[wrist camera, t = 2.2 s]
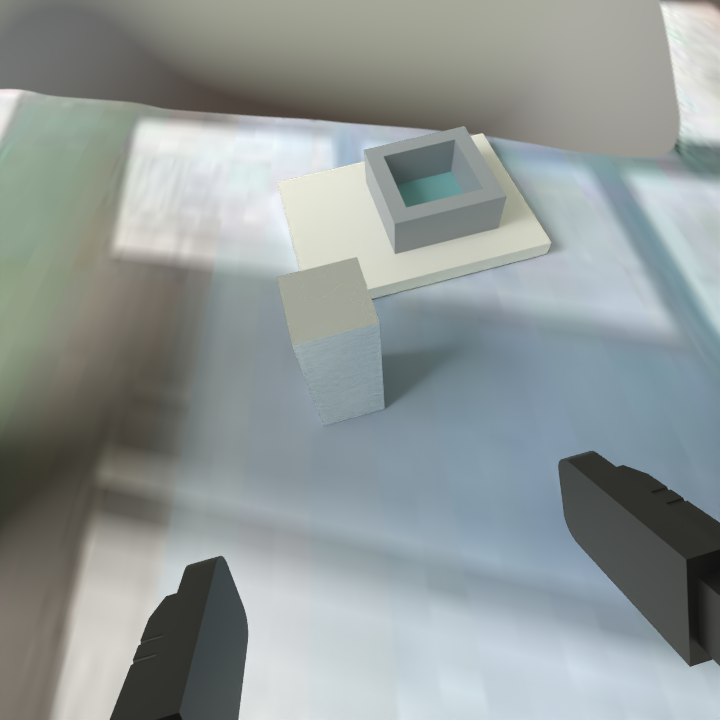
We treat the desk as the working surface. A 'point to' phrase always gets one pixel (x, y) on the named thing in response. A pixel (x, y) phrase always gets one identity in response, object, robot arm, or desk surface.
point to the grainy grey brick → (335, 338)
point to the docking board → (413, 213)
